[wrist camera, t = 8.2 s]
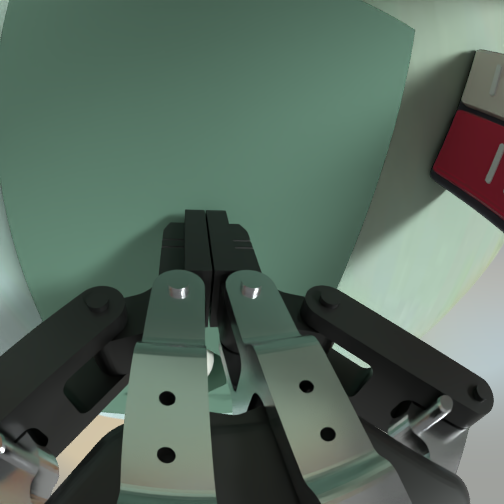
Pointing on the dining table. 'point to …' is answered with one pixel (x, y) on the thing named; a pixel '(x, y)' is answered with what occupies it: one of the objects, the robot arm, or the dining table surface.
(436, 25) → the dining table surface
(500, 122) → the calculator
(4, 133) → the putting board
